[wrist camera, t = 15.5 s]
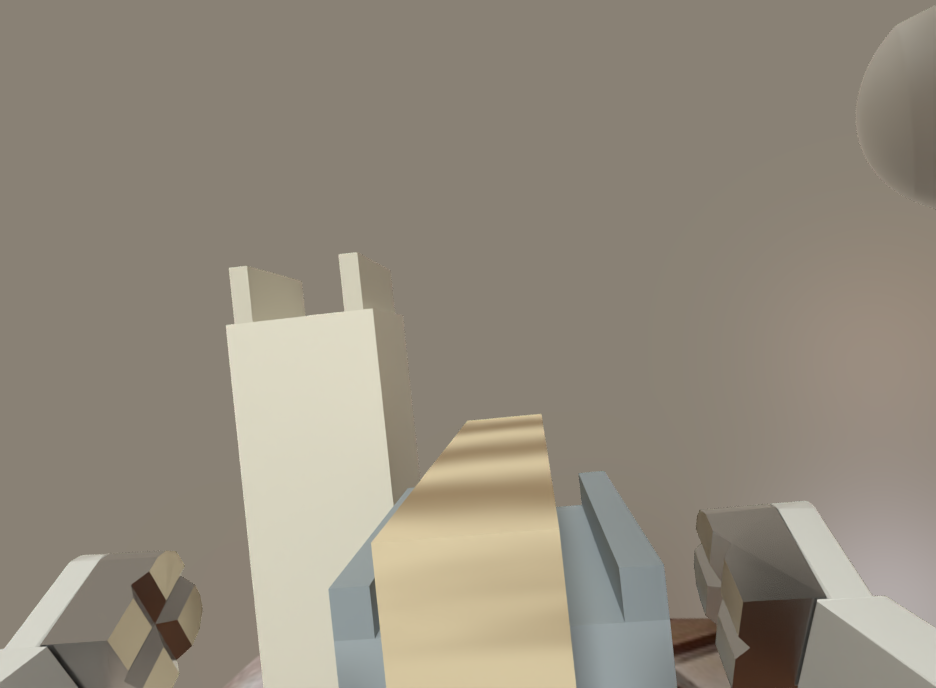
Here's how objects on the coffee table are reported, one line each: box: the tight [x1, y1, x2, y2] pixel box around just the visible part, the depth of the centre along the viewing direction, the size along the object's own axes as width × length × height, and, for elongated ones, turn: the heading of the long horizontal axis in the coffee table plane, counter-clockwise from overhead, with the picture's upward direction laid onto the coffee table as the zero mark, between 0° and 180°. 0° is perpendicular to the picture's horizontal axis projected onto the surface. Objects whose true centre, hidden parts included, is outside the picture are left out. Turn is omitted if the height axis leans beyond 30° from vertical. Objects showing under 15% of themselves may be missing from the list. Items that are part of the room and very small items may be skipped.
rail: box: [371, 414, 576, 688], centre depth 23 cm, size 20×4×4 cm, turn 174°
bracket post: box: [226, 252, 420, 688], centre depth 36 cm, size 8×8×29 cm
